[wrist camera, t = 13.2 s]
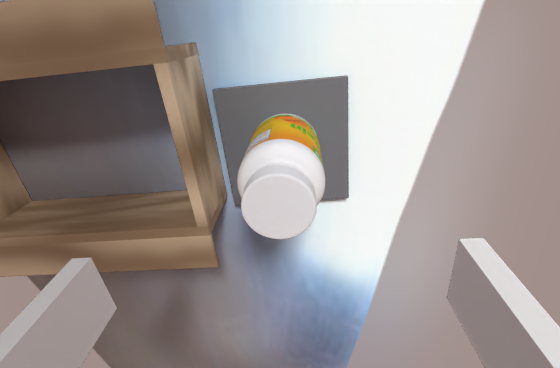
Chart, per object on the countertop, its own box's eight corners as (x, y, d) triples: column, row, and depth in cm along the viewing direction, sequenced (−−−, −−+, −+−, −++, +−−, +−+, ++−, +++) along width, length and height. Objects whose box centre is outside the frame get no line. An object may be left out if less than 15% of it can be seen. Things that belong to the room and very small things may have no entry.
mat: (214, 88, 23) (212, 90, 23) (346, 75, 22) (348, 76, 22) (236, 201, 28) (235, 205, 27) (347, 194, 27) (348, 197, 26)
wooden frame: (-72, 27, 23) (-187, 27, 17) (185, -6, 21) (146, -19, 15) (42, 234, 31) (-12, 277, 25) (233, 223, 29) (218, 267, 24)
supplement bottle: (332, 147, 24) (352, 212, 16) (283, 187, 26) (277, 265, 18) (286, 97, 23) (280, 138, 14) (237, 143, 25) (206, 205, 16)
